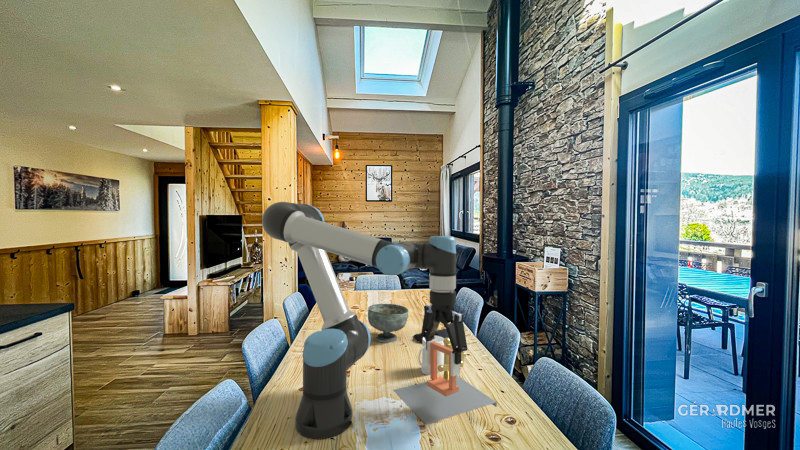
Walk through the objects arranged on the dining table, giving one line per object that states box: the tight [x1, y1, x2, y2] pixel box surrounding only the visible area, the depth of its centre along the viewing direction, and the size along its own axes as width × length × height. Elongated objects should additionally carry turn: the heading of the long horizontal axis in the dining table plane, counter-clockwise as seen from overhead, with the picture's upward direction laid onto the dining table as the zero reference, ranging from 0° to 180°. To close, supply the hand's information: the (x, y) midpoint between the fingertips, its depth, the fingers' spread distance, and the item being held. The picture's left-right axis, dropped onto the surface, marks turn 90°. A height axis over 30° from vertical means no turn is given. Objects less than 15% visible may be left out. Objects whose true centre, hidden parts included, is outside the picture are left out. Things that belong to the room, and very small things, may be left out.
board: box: [393, 375, 498, 425], centre depth 100 cm, size 25×20×1 cm
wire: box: [438, 338, 467, 381], centre depth 102 cm, size 15×17×14 cm
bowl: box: [367, 303, 409, 344], centre depth 154 cm, size 20×19×15 cm
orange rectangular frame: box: [426, 342, 459, 397], centre depth 92 cm, size 5×9×12 cm, turn 36°
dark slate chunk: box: [412, 328, 449, 344], centre depth 156 cm, size 15×22×5 cm
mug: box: [417, 336, 444, 376], centre depth 119 cm, size 12×8×12 cm
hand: (442, 368), depth 92 cm, fingers closed on orange rectangular frame, 9 cm apart
